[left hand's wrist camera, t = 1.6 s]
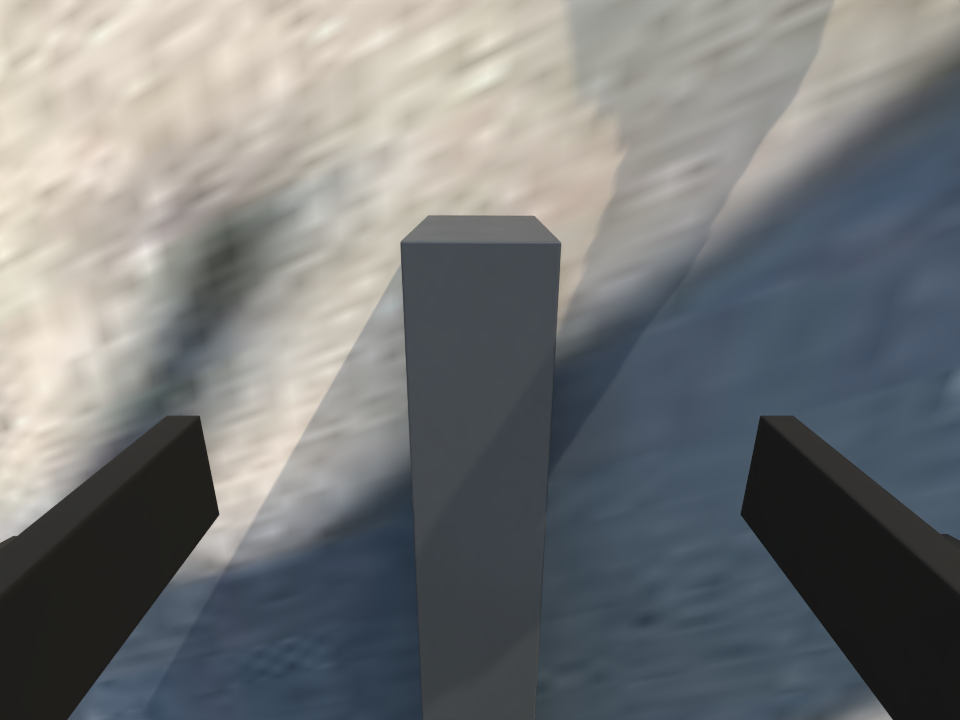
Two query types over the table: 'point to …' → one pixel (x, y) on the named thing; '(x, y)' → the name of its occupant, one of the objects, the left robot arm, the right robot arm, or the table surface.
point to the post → (479, 454)
